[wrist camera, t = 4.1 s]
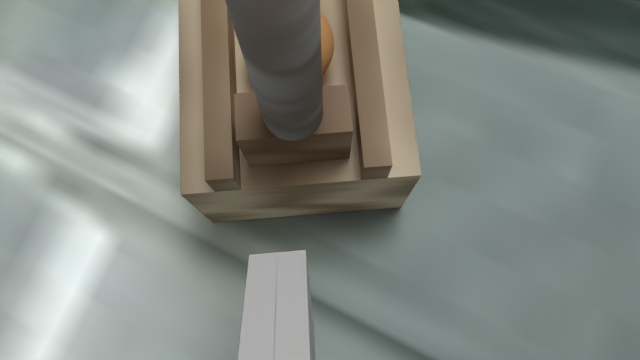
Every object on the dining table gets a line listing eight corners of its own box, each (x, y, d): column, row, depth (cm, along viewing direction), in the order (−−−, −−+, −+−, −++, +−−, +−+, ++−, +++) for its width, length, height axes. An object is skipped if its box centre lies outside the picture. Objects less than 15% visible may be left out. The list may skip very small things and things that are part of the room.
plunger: (343, 102, 25) (376, -367, 8) (351, 175, 24) (405, -179, 7) (246, 109, 25) (71, -344, 8) (250, 183, 24) (59, -152, 7)
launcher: (378, 24, 34) (396, -77, 25) (401, 207, 31) (429, 162, 22) (208, 38, 34) (166, -59, 25) (213, 222, 31) (167, 183, 22)
